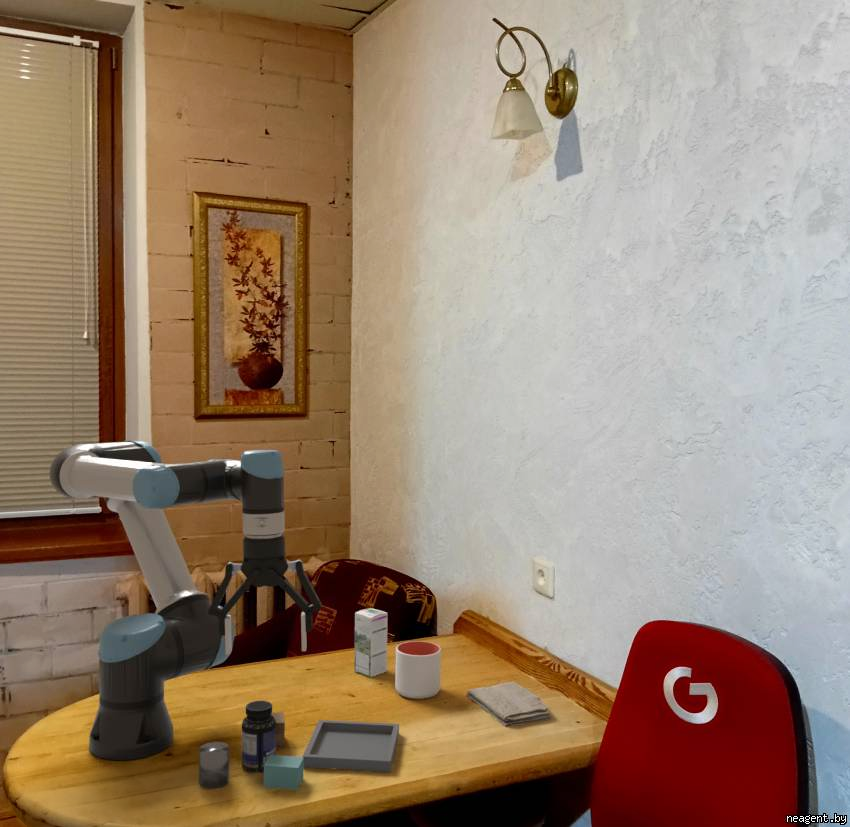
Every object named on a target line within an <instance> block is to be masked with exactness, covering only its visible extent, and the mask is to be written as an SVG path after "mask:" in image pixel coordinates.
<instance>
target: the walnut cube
mask: <svg viewBox="0 0 850 827" xmlns="http://www.w3.org/2000/svg"><path fill="white" fill-rule="evenodd" d="M271 715H272V716H273V717H274V718H275V720H276V750H277V748H280V749H285V736H286V735H285V733H286V732H285V730H286V729H285V728H286V727H285V722H286V721H285V712H283V711H282V712H280V711H279V712H272V713H271Z"/></svg>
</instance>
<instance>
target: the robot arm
mask: <svg viewBox="0 0 850 827" xmlns="http://www.w3.org/2000/svg"><path fill="white" fill-rule="evenodd" d="M284 477H285V471H284V462H283V454H282V453H281V452H280V451H278V450H276V449H275V450H274V449H253V450H244V451H243V452H242V453H241V458H240V459H239V460H238V459H229V458H213V459H209V460H206V461H205V460H204V461H197V462H189V463H188V462H187V463H186V462H185V463H184V462H183V463H171V464H170V463H163V460H162V458H161V455H160V453H159V452H158V450H157V449H156V448H155V447H154V446H153V445H152V444H150V443H148V442H146V441H143V440H130V439H128V440H123V441H116V442H115V441H113V442H96V443H95V442H94V443H79V444H75V445H71V446H68V447H67V448H65V449H63V450H62V451H60V452H59V453H58V454H57V455H56V456H55V457H54V459H53V460H52V462H51V464H50V467H49V480H50V484H51V486H53V488H54V489H55V491H56V492H57V493H58V494H60V495H62V496H64V497H67V498H71V499H81V500H82V499H94V498H103V499H104V501H105V503H106V506H107V508H108V510H110V511H111V512H114V513H117V514H118V516H119V518H120V521H121V524H122V526H123V529H124V532H125V533H126V536H127V538H128V540H129V543H130V545H131V547H132V550H133V553H134V555H135V556H134V557H135V558H136V560H137V562H138V565H139V568H140V570H141V573H142V575H143V577H144V580H145V583H146V586H147V588H148V590H149V592H150V595H151V597H152V600H153V602H154V604H155V607H156V610H155V612H154V613H153V612H152V613H150V612H147V613H146V612H144V613H143V612H142V613H141V614H137V613H136V614H135V613H134V614H131V615H126V616H123V617H120V618H118V619H115V620H113V621H111V622H110V623H109V624H107V625H106V626H105V627H104V629H103V630H102V632H101V633H100V637H99V645H98V651H97V653H98V655H97V656H98V673H99V674H98V680H99V682H98V683H99V685H98V686H99V687H98V690H99V691H98V692H99V693H98V698H99V699H98V700H99V701H98V704H99V706H98V709H97V712H96V714H95V718H94V720H93V724H92V727H91V729H90V732H89V738H88V740H89V743H88V746H89V748H88V749H89V751H90V752H91V754H92V755H94V756H96V757H98V758H101V759H105V760H111V761H129V760H137V759H141V758H146V757H149V756H150V757H151V756H152V755H156V754H158V753H161V752H162V751H164V750H165V749H167V748H168V747H169V746H170V745H171V744H172V743H173V741H174V724H173V721H172V718H171V716H170V713H169V710H168V706H167V704H166V702H165V682H167V681H169V680H172V679H173V680H174V679H176V678H179V677H184V676H186V675H189V674H193V673H196V672H200V671H206V670H210V668H213V667H214V666H218V665H221V664H222V663H224V662H225V661H226V660H227V659H228V658H229V656H230V655H231V653H232V651H233V647H234V640H235V628H234V622H233V619H232V615H231V614H230V613H229V612H230V611H231V610H232V609H233V608H234V607H235V605H236V604H237V602H239V600H240V599H241V597H242V596H243V595H244V594H245V592H247V590H248V589H249V588H250V586H251V585H252V586H253V587H255V588H261V587H268V588H271V587H272V588H273V587H274V586H275V587H276V586H277V585H278V586H279V587H280V589H282V590H283V591H284V592H285V593H286V594H287V595H288V596H289V597H290V598H291V599H292V601H293V602H294V603H295V604H296V605H297V606H298V607H299V608H300V610H301V614H300V623H301V625H300V627H301V628H300V630H301V632H300V633H301V636H300V638H301V652H307V644H308V642H307V632H308V633H309V632H312V630H313V614H314V613H317V612H320V611H321V610H322V601H321V600H320V598H319V596H318V594H317V592H316V590H315V589H314V586H313V585H312V583H311V581H310V579H309V577H308V575H307V574H306V571H305V569H304V562H303V560H302V559H301V558H298V559H296V560H293V561H287V559H286V537H285V535H284V532H285V530H286V528H285V527H286V526H285V521H286V520H285V487H284V486H285V485H284V484H285V480H284ZM227 500H232V501H233V500H234V501H241V504H242V507H241V512H242V534H244V535H245V536H244V537H243V538H242V547H243V548H242V549H243V550H242V552H243V553H242V554H243V555H242V557H243V559H242V563H235V562H233V561H229V562H228V563H227V564H226V566H225V571H224V578H222V581H221V583H220V586H219V588H218V590H217V592H216V595H215V596H214V598H213V601H211V599H210V597H209V595H208V594H207V593H206V592H203V591H200V590H197V587H196V585H195V582H194V580H193V577H192V575H191V573H190V571H189V568H188V565H187V563H186V561H185V559H184V556H183V554H182V551H181V549H180V547H179V545H178V543H177V540H176V537H175V535H174V533H173V531H172V529H171V527H170V524H169V522H168V519H167V517H166V514H165V513H164V510H163V509H166V508H169V507H178V506H184V505H193V504H200V503H201V504H202V503H211V502H218V501H227ZM288 569H290V570H291V572H292V573H293V574H296V575H297V578H298V581H299V582H300V584H301V586H302V587H303V590H304V591H305V593H306V595H307V598H309V600H310V603H311V604H310V603H309V602H308V601H307V600H306V598H304V597H303V595H301V594H302V593H301V594H300V592H299V591H298V590H297V589H296V588H295V587H294V586H293V585H292V583H291V582H290V581H289V579H288V578H287V577H286V576H285V574H286V573H287V571H288ZM239 571H241V573H243V575H244V576H245V580H244V581H243V582H242V583H241V585H240V586H239V587H238V588H237V589H236V591H235V592H234V593H233V594H232V596H231V597H230V598H229V599H228V600H227V602H226V603H225V604H224V606H221V605H220V604H221V601H222V600H223V597H224V595H225V593H226V591H227V589H228V587H229V585H230V583H231V581H232V579H233V576H236V575H238V572H239Z"/></svg>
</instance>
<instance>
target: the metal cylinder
mask: <svg viewBox="0 0 850 827" xmlns="http://www.w3.org/2000/svg"><path fill="white" fill-rule="evenodd" d="M198 753H199V754H198V755H199V757H198V758H199V761H198V762H199V764H198V766H199V768H198V781H199V782H198V785H199V787H201V788H203V789H206V790H216V789H221V788H223V787H225V786H227V785H228V784H229V782H230V745H229V744H228V743H226V742H222V741H212V742H207V743H205V744H203V745H201V746H200V747H199V752H198Z"/></svg>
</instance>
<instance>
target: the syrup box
mask: <svg viewBox="0 0 850 827" xmlns="http://www.w3.org/2000/svg"><path fill="white" fill-rule="evenodd" d="M387 658H388V612H386V611H384V610H380V609H375V608H372V607H370V608H364V609H360V610H358V611H355V613H354V664H353V665H354V672H355V673H358V674H360V675H363V676H365V677H368V678H373V676H374V677H377V676H379V675H378V674H380V675H382V674H384V672H385V673H387V672H388V671H387V670H388V659H387ZM381 673H382V674H381ZM376 675H377V676H376Z"/></svg>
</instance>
